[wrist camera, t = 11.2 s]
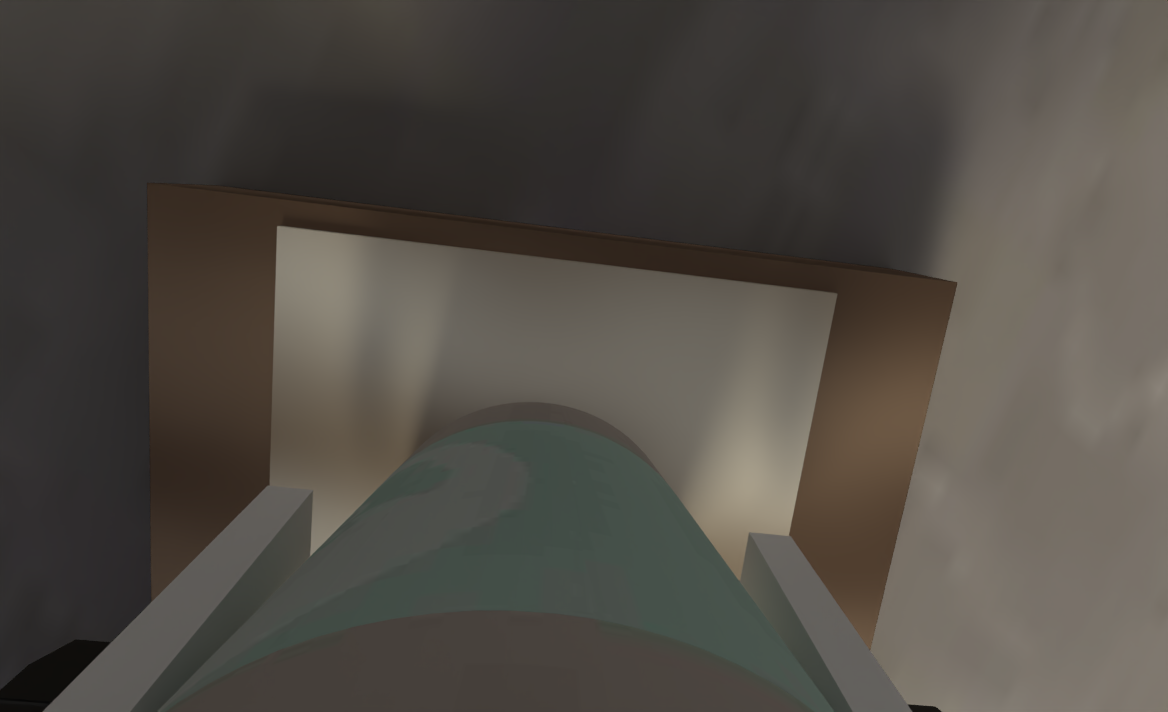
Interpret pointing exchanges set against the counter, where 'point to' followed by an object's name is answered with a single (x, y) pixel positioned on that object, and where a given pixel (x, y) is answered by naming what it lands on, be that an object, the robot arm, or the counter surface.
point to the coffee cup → (510, 592)
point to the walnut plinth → (528, 368)
